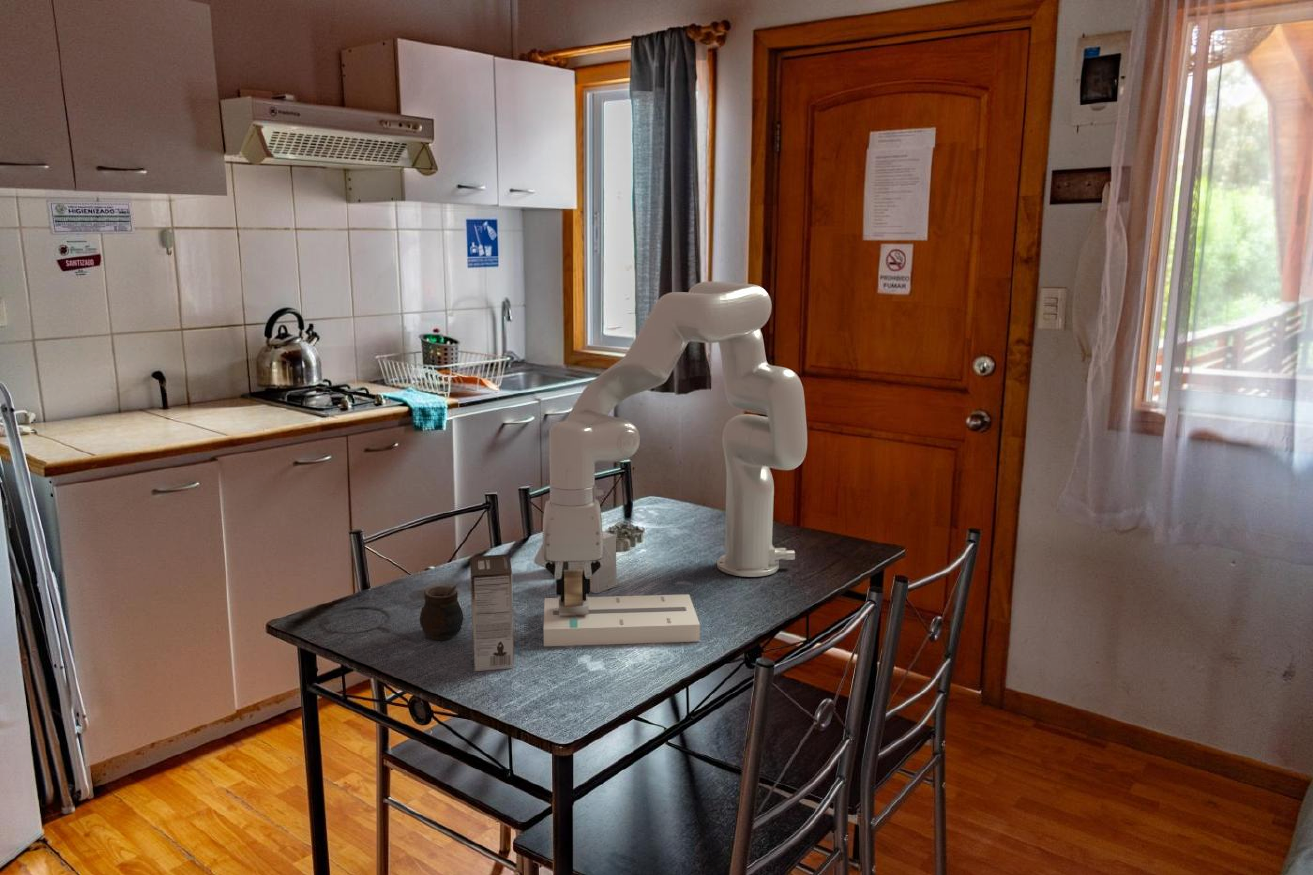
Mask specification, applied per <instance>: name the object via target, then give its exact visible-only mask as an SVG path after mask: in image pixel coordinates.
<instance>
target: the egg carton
mask: <svg viewBox="0 0 1313 875" xmlns="http://www.w3.org/2000/svg"><path fill="white" fill-rule="evenodd" d="M604 532H607V533H610V534H614V535H616V552H618V553H623V552H629V551H630V550H631V548H633V547H634V548H636V546H637V543H643V542H644V539H643V537H644V534H646V528H642V529H641V528H640V527H639V525H636V526H635V525H633V524H629V523H626V524H625V523H623V522H621V521H617V523H615V524H614V525H612V526H609V527H608V528H607V529H604Z"/></svg>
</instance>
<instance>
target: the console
mask: <svg viewBox="0 0 1313 875" xmlns="http://www.w3.org/2000/svg"><path fill="white" fill-rule="evenodd" d="M543 603H544V604H543V605H544V606H543V607H544V608H543V647H568V646H572V647H573V646H596V645H598V646H599V645H601V646H602V645H625V644H627V645H628V644H630V645H631V644H659V643H660V644H662V643H663V644H665V643H691V642H692V643H695V642H696V643H697V642H700V641H701V640H700V638H701V636H700V635H701V623H700V621H699V618H698V614H697V612H696V609H695V607H694V604H693V600H692V599H691V595H690V594H687V593H686V594H661V595H658V594H655V595H654V594H653V595H652V594H651V595H621V596H620V595H617V596H615V595H614V596H588V615H564V616H559V597H551V598H549V597H547V598H546V597H545V598H544V602H543Z"/></svg>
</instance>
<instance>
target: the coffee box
mask: <svg viewBox="0 0 1313 875" xmlns="http://www.w3.org/2000/svg"><path fill="white" fill-rule="evenodd" d="M469 560H470V564H469V565H470V596H471V598H470V601H471V605H470V606H471V628H472V630H471V631H472V647H473V662H474V672H483V671H485V672H486V671H496V670H505V669H506V670H508V669H514V668H515V656H514V655H515V652H514V651H515V648H514V641H515V640H514V603H513V601H514V600H513V597H514V596H513V594H514V593H513V570H512V563H511V556H510V553H505V554H503V553H501V554H491V555H490V554H489V555H487V554H486V555H480V556H479V555H478V556H477V555H476V556H470V559H469Z"/></svg>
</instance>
